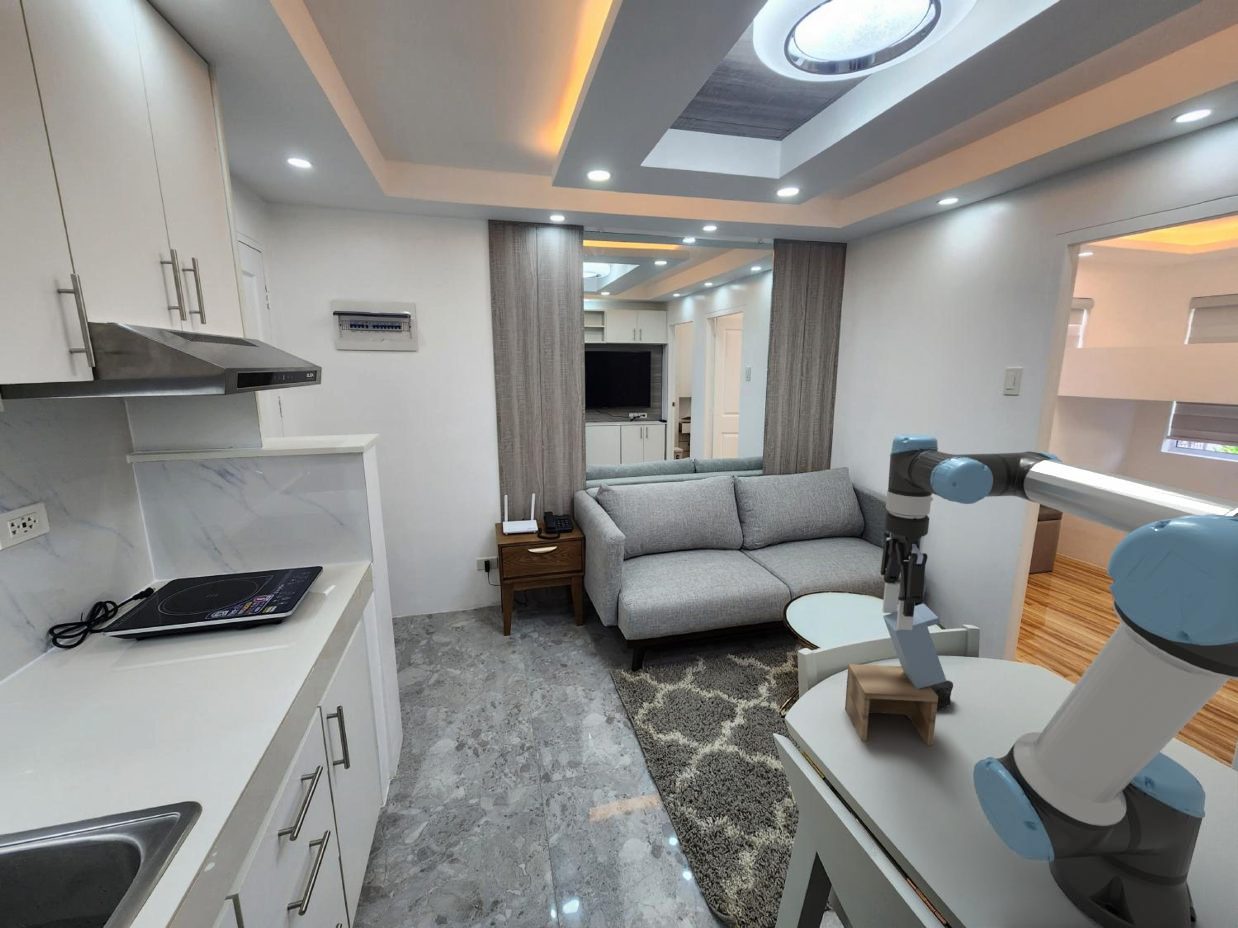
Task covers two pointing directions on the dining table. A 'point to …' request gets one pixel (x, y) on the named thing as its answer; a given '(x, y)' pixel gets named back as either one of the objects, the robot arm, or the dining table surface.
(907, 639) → the lidded box
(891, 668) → the open wooden crate
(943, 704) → the rock
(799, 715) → the dining table surface
